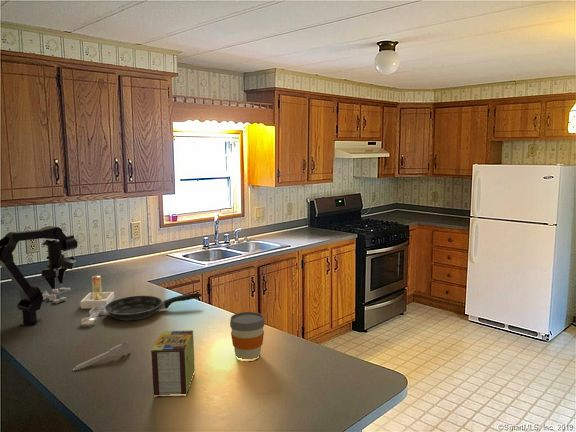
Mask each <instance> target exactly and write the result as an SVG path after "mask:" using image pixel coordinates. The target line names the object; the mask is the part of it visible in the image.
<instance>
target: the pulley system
mask: <svg viewBox="0 0 576 432" xmlns="http://www.w3.org/2000/svg"><path fill="white" fill-rule="evenodd" d="M51 289H52V288H51ZM40 291H41V292H42V293H43V294H42V295H43V301H45V300H49V302H50V301H51V302H52V303H53V304H55V305H57V304H59V303H60V302H64V301H66V300H67V297H66V296H59V295H61V294H64V293H66V292H67V293H68V292H70V291H71V287H60V288H55V289H52V290H51V292H52V293H49V292H48V290H40Z"/></svg>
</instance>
